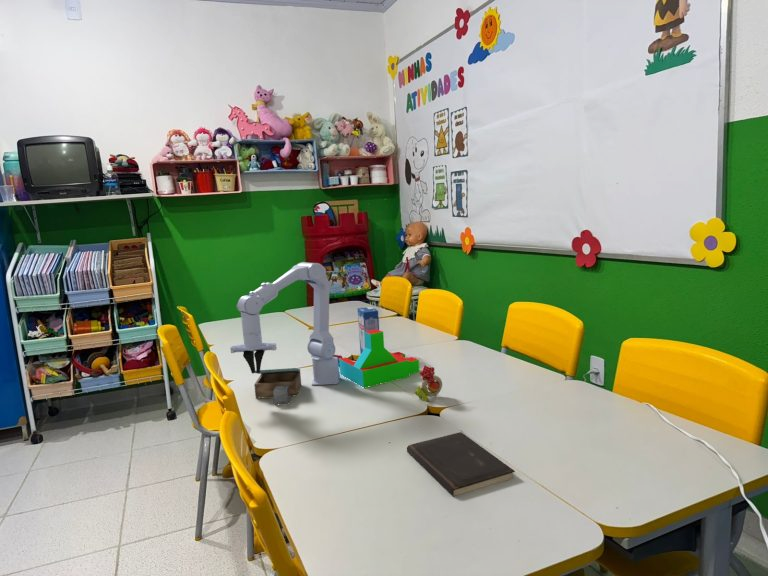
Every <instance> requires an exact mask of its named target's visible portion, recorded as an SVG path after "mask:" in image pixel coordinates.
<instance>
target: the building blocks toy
mask: <svg viewBox="0 0 768 576" xmlns="http://www.w3.org/2000/svg"><path fill="white" fill-rule="evenodd" d="M364 338H365V348H364V350H363V352H362V353H360V355H359V356H358V358H357V359H356V360H355V361H353V360H351V359H349V358H347V357H342V358H340V359H339V372H340V374H341V375H343V376H344V377H343V376H342V377H343V378H345V377H346V378H345V379H347V378H348V379H350V380H351V381H350V380H349V381H350V382H352V381H353V382H352V383H354V382H355V383H357V384H358V385H357V384H356V385H357V386H359V385H360V386H359V387H361V386H362V387H364V388H363V389H366V388H365V387H368V386H371V387H374V386H373V385H375V386H377V385H376V384H379V385H381V384H380V383H383V384H386V383H385V382H387V383H390V382H395V381H397V380H402V379H405V378H410V375H412V374H415V373H420V359H418V358H416V357H413V356H410V357H406V353H403V352H400V351H396V352H392V351H391V352H390V351H389V350H387V348H385V341H384V340H385V337H384V331H383V330H380V329H379V330H377V329H376V330H371V331H365V332H364ZM341 375H340V376H341ZM348 379H347V380H348ZM355 383H354V384H355ZM362 387H361V388H362ZM368 388H369V387H368Z"/></svg>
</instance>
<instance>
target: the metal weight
mask: <svg viewBox="0 0 768 576" xmlns="http://www.w3.org/2000/svg"><path fill="white" fill-rule="evenodd" d="M273 394H274V397H273V403H274V406H279V405H278V404H286V405H289V404H290V402H291V396H290V388H289V385H283V386H275V388H274V390H273ZM289 401H290V402H289ZM288 403H289V404H288Z"/></svg>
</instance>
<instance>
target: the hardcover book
mask: <svg viewBox="0 0 768 576" xmlns="http://www.w3.org/2000/svg"><path fill="white" fill-rule="evenodd" d="M406 452H407V453H408V454H409V456H411V458H413V459H414V460H415V461H416V462H417V463H418V464H419V465H420V466H421V467H422V468H423V469H424V470H425V471H426V472H427V474H429V475H430V476H431V477H432V478H433V479H434V480H435V481H436V482H438V484H439V485H440V486H442V488H444V490H446V492H448V494H449V495H450V496H451V497H455V496H458V495H461V494H465V493H468V492H471V491H473V490H478V489H482V488H484V487H487V486H490V485H494V484H497V483H500V482H504V481H507V480H510V479H513V478H514V476H513V474H514V473H516V471H515V470H514V469H512V467H510V466H508V465H507V464H506V463H504V462H503V461H502V460H500V459H499V458H497V457H496V456H495V455H493V454H492V453H491V452H489V451H488V450H486V448H484V447H483V446H481V445H480V444H478V443H477V442H476V441H474V440H473V439H471V438H470V437H469V436H467V435H466V434H465V433H463V432H462V431H459V432H456V433H451V434H447V435H443V436H439V437H436V438H432V439H427V440H424V441H420V442H416V443H413V444H409V445H407V447H406Z"/></svg>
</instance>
